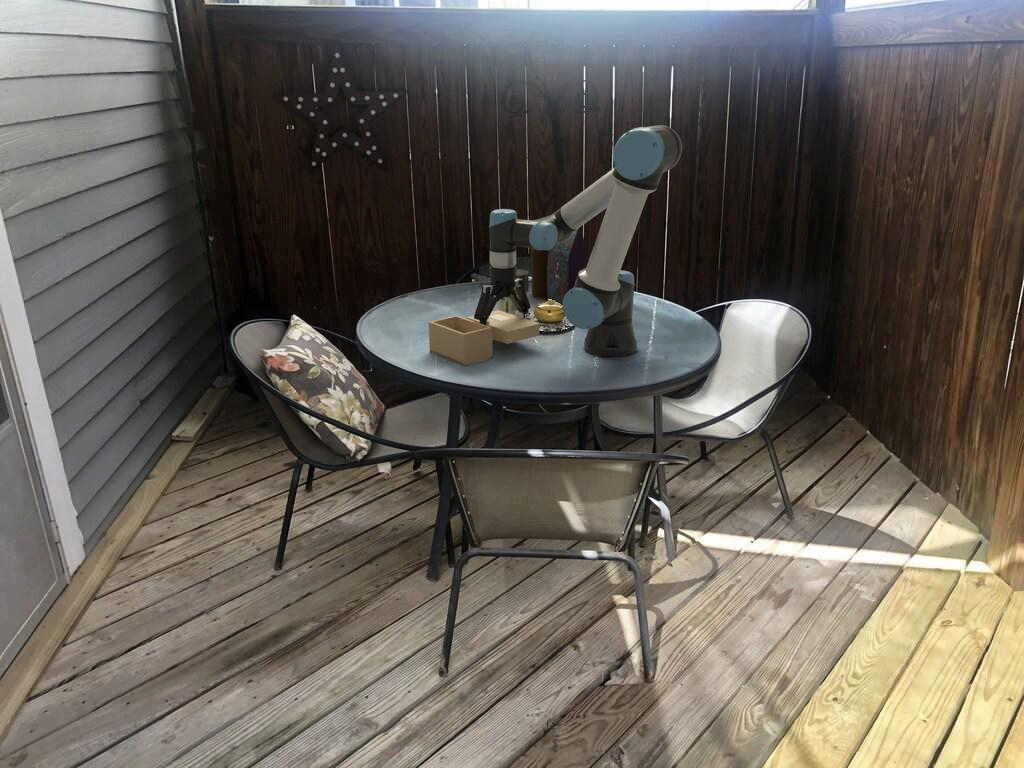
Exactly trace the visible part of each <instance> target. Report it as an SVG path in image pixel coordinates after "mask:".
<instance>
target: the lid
mask: <svg viewBox="0 0 1024 768" xmlns="http://www.w3.org/2000/svg"><path fill="white" fill-rule="evenodd" d="M466 319H469V320H471V321H474V322H477V323H480V321H479V320H477V319H474V315H471V316H466ZM487 321H490V327H492V340H495V341H497V342H502V343H504V344H506V345H509V344H512V343H516V342H519V341H523V340H527V339H531V338H536V337H539V336H540V323H539V322H537V321H534V320H530V319H527V318H525V319H524V318H521V317H518V316H515V315H512V314H509V313H506V312H503V311H500V310H498V309H497V310H492V312H491V314H490V316H489V318H488V320H487Z"/></svg>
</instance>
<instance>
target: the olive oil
mask: <svg viewBox="0 0 1024 768" xmlns="http://www.w3.org/2000/svg"><path fill="white" fill-rule="evenodd" d="M530 265H531V266H530V268H531V269H530V271H531V295H532V296H533V297H536V298H539V299H540V298H542V299H547V266H548V250H536V249H531V248H530Z"/></svg>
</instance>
